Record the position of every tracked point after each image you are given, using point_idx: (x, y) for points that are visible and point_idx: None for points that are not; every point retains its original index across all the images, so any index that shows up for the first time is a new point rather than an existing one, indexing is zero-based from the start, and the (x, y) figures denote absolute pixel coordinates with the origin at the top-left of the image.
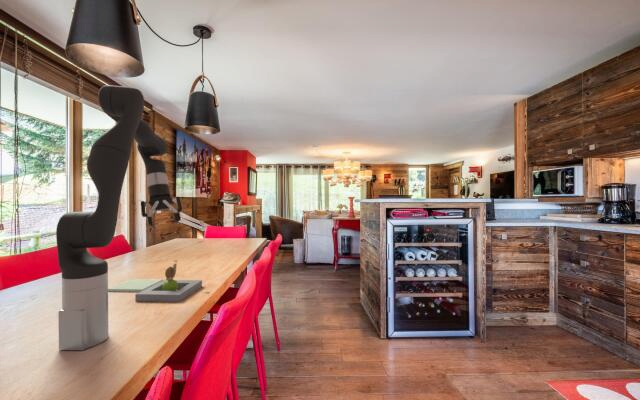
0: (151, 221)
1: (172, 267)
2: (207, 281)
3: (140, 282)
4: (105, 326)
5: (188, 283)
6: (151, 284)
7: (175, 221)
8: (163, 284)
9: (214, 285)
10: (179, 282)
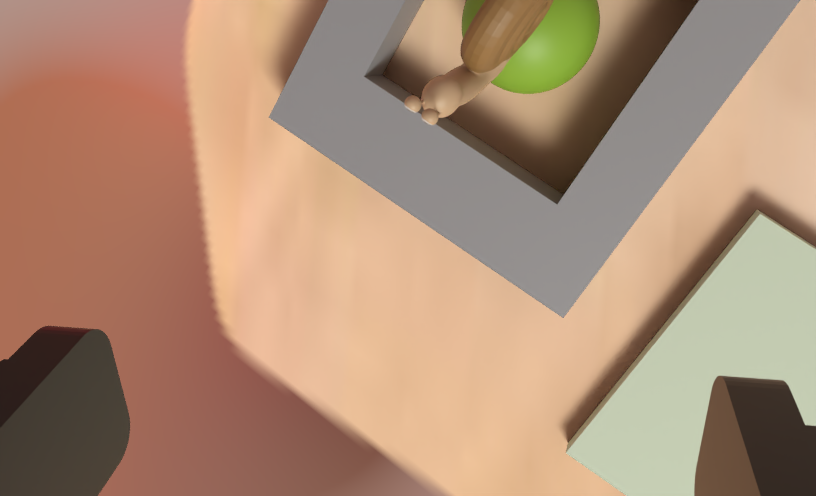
0: (784, 477)
1: (472, 24)
2: (243, 238)
3: None
4: None
5: (378, 84)
6: (672, 338)
7: (78, 332)
8: (588, 11)
9: (205, 87)
10: (446, 147)
